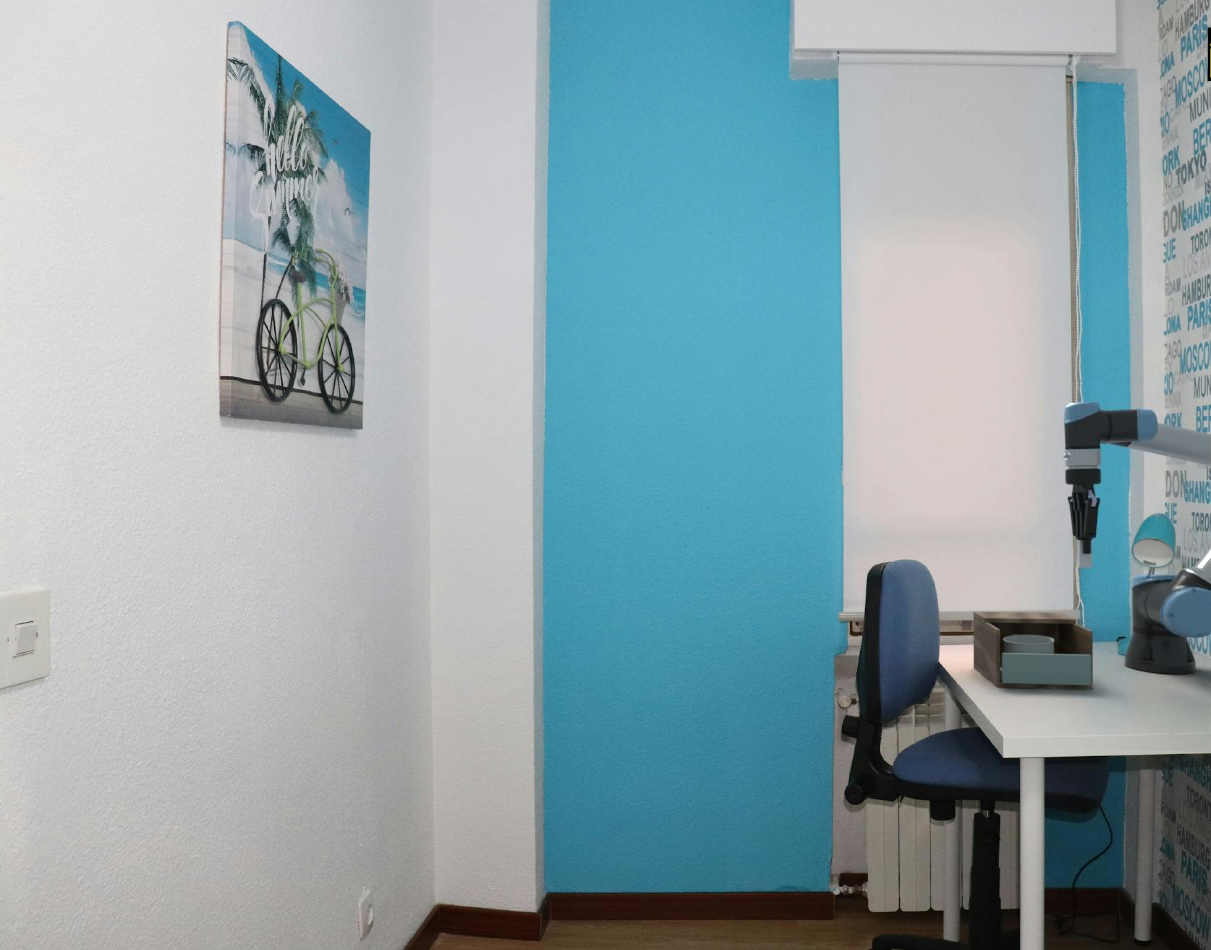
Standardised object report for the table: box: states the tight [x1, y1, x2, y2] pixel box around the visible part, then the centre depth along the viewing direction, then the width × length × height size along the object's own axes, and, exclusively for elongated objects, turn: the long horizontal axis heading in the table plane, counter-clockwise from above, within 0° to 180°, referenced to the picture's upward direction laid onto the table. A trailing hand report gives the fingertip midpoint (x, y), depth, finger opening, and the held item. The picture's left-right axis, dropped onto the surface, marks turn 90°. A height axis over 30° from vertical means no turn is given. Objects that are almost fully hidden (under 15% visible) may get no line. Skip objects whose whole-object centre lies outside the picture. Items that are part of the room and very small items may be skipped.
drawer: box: [1000, 653, 1091, 685], centre depth 218 cm, size 19×20×7 cm
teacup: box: [1003, 634, 1054, 654], centre depth 218 cm, size 14×11×8 cm
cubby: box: [973, 611, 1094, 690], centre depth 219 cm, size 21×20×14 cm
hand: (1084, 567), depth 220 cm, fingers closed
